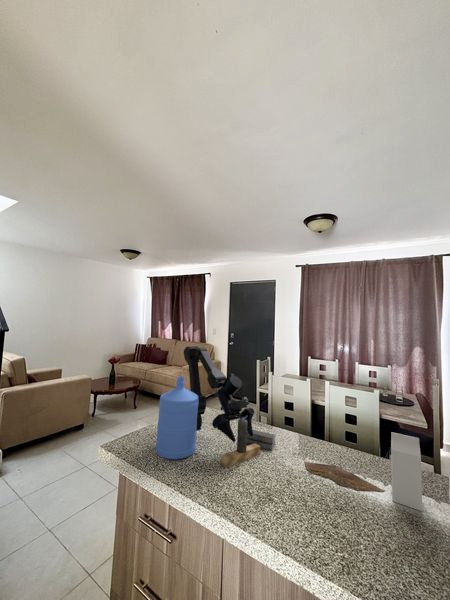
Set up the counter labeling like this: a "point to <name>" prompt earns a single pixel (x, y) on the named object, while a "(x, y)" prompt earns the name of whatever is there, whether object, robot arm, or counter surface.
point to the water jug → (177, 423)
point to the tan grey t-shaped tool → (240, 447)
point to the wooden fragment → (341, 476)
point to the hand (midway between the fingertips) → (243, 438)
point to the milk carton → (406, 470)
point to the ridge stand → (261, 439)
